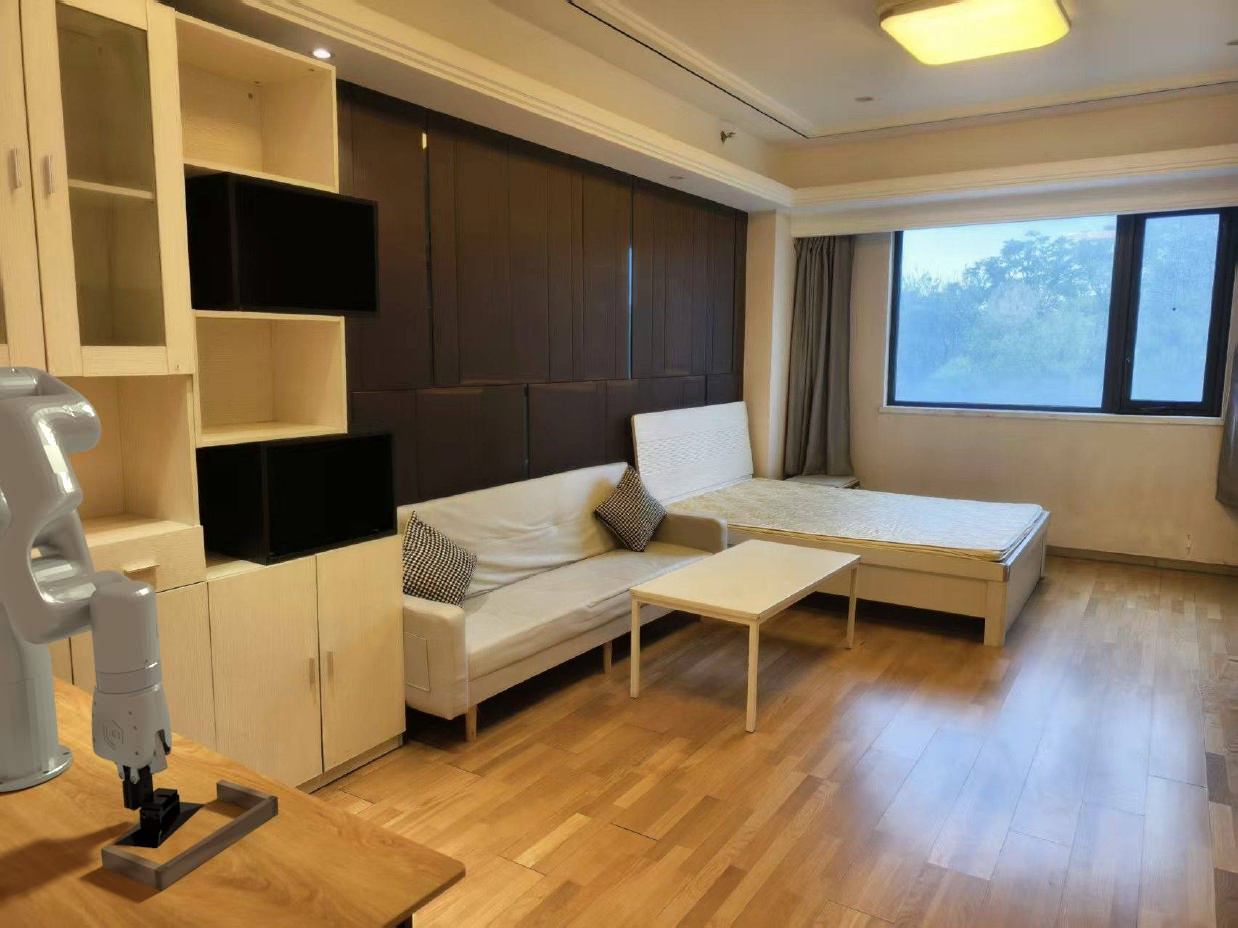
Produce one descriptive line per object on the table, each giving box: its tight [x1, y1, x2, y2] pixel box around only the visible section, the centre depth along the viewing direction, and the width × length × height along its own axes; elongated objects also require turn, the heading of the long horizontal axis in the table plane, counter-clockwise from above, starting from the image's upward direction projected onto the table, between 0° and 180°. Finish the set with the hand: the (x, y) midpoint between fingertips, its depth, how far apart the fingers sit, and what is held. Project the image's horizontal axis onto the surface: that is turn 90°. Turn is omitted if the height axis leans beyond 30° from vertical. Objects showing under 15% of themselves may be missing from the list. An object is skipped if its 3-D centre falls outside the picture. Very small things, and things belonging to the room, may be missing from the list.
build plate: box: [114, 787, 205, 849], centre depth 113 cm, size 12×7×5 cm, turn 173°
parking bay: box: [100, 779, 279, 892], centre depth 110 cm, size 10×18×2 cm, turn 156°
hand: (139, 804), depth 114 cm, fingers closed
